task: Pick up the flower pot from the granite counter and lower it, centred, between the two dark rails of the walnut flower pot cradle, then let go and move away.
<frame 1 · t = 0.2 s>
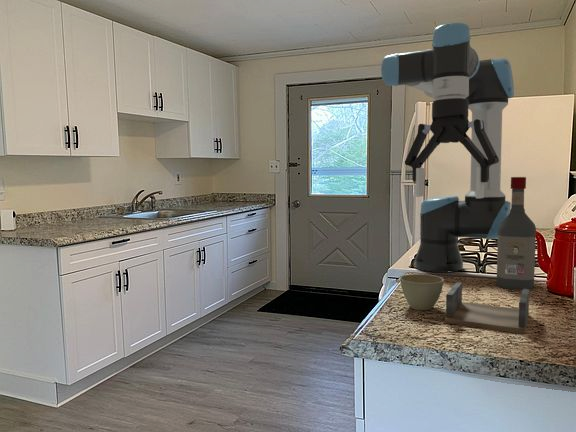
hand: (448, 197, 106), 27 cm above the worktop, tool pointing down, fingers open, 13 cm apart
liquor: (515, 286, 132), on the worktop
cradle: (487, 318, 105), on the worktop
flower pot: (421, 308, 114), on the worktop
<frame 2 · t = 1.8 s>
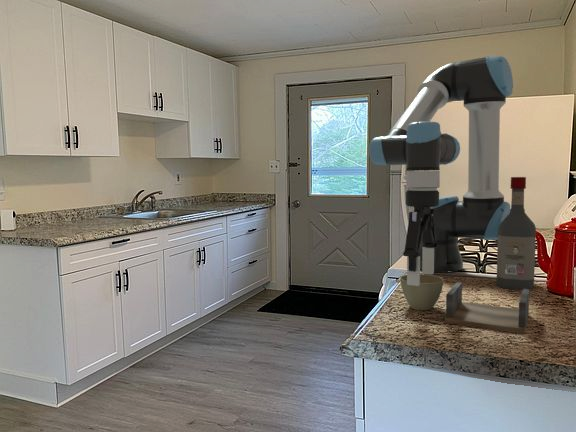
hand: (421, 279, 113), 7 cm above the worktop, tool pointing down, fingers open, 13 cm apart
nothing on the worktop moved.
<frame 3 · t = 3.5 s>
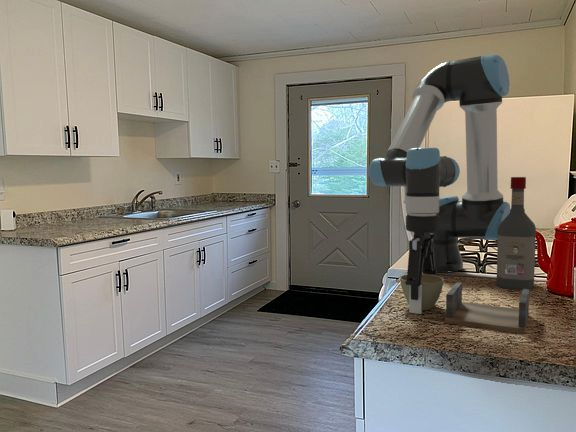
hand: (421, 306, 114), 0 cm above the worktop, tool pointing down, fingers open, 10 cm apart
flower pot: (421, 308, 114), on the worktop, touching gripper
everything else where it was.
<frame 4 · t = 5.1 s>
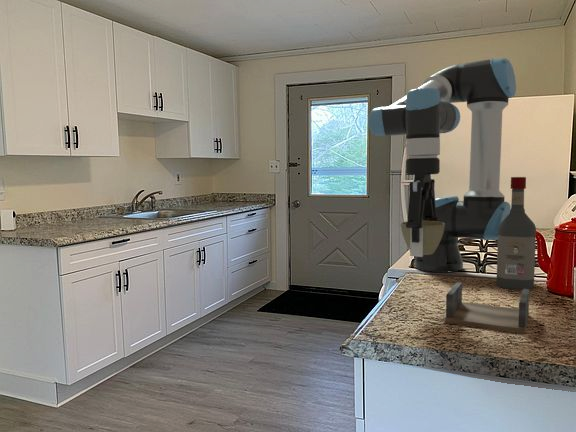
hand: (422, 252, 113), 13 cm above the worktop, tool pointing down, fingers closed on flower pot, 10 cm apart
flower pot: (422, 253, 113), point 13 cm above the worktop, touching gripper
everything else where it was.
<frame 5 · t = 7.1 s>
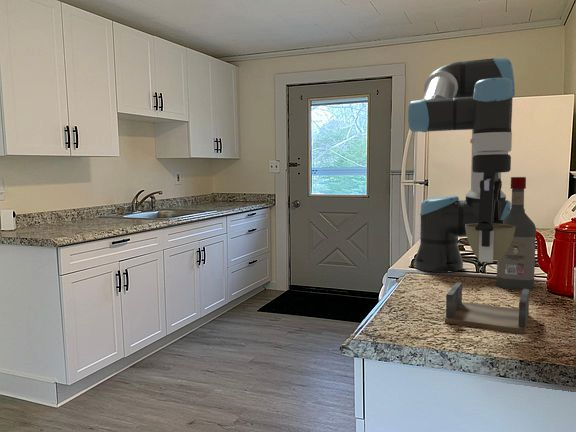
hand: (489, 257, 104), 14 cm above the worktop, tool pointing down, fingers closed on flower pot, 10 cm apart
flower pot: (489, 259, 104), point 13 cm above the worktop, touching gripper
everything else where it was.
when the fingers open (2 cm above the worktop, at t = 9.9 s): flower pot drops 1 cm, resting on cradle.
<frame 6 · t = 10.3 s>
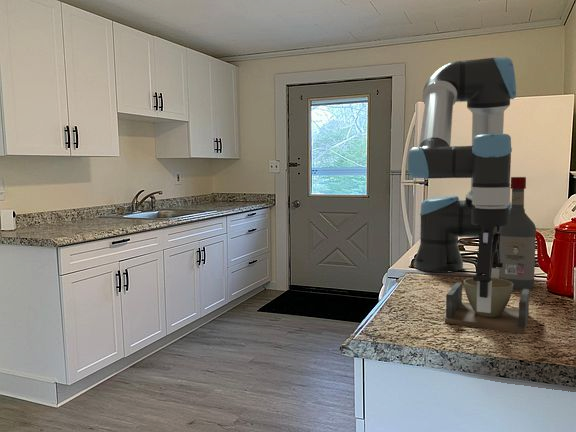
hand: (488, 303, 105), 3 cm above the worktop, tool pointing down, fingers open, 13 cm apart
flower pot: (487, 314, 105), point 1 cm above the worktop, touching cradle
everything else where it was.
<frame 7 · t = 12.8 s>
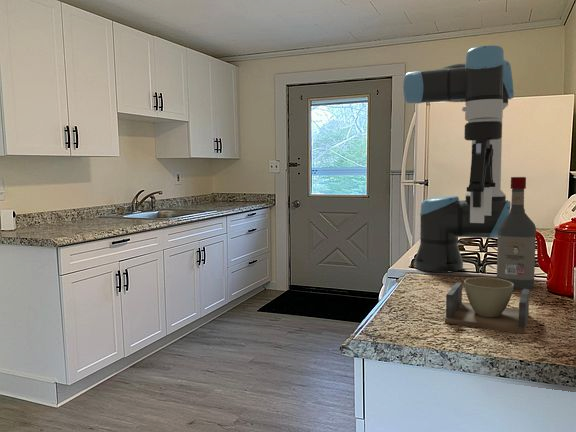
hand: (481, 219, 106), 22 cm above the worktop, tool pointing down, fingers open, 13 cm apart
nothing on the worktop moved.
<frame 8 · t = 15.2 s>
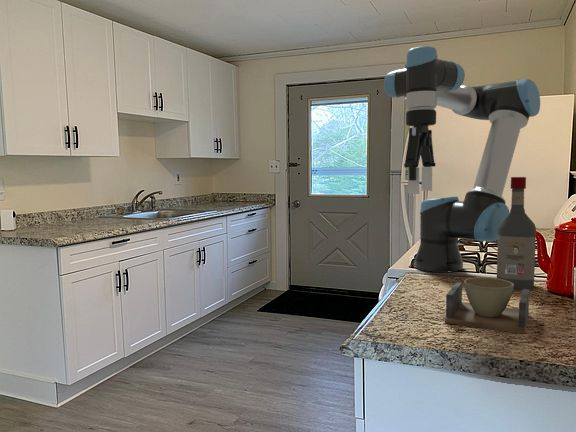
hand: (420, 192, 125), 27 cm above the worktop, tool pointing down, fingers open, 13 cm apart
nothing on the worktop moved.
at the end: flower pot 0.1 cm off-centre on the cradle, point 0.8 cm above the cradle's base; flower pot tilted 0°; the gripper is holding nothing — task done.
